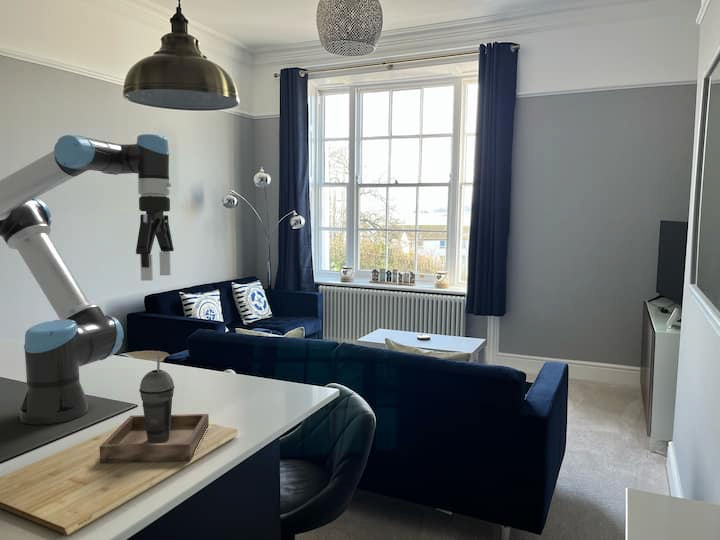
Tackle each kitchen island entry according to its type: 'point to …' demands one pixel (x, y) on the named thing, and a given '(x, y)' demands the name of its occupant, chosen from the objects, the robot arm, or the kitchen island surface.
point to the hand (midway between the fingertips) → (156, 277)
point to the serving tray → (135, 447)
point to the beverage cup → (157, 403)
